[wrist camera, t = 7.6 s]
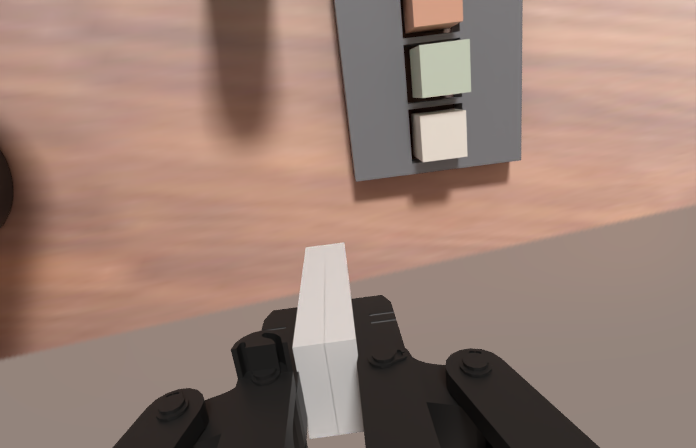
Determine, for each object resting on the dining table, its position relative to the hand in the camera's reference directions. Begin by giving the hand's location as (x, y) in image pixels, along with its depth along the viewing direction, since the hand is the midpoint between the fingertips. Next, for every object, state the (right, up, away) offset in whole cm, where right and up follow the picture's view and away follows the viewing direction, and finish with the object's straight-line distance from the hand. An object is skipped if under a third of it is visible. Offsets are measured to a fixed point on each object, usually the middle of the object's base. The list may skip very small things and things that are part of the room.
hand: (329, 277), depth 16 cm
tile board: (+8, +16, +23) cm, 29 cm away
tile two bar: (+8, +16, +21) cm, 27 cm away
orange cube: (+8, +21, +20) cm, 30 cm away
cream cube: (+9, +11, +24) cm, 28 cm away
